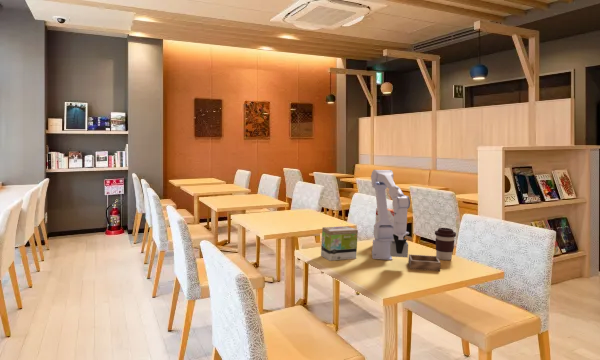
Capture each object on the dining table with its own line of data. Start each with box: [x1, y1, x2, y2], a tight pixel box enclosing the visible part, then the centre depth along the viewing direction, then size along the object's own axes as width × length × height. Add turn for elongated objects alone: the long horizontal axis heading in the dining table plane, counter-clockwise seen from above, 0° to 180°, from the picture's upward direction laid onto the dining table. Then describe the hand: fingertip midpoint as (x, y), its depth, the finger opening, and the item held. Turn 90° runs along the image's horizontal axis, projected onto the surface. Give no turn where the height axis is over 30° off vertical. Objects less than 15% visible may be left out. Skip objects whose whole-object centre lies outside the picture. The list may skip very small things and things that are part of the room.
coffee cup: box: [434, 227, 457, 261], centre depth 207 cm, size 10×10×15 cm
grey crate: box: [390, 241, 409, 259], centre depth 189 cm, size 8×5×6 cm, turn 81°
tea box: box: [320, 225, 359, 262], centre depth 205 cm, size 15×10×15 cm
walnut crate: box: [408, 253, 441, 272], centre depth 193 cm, size 13×10×4 cm
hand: (398, 251), depth 189 cm, fingers closed on grey crate, 5 cm apart
